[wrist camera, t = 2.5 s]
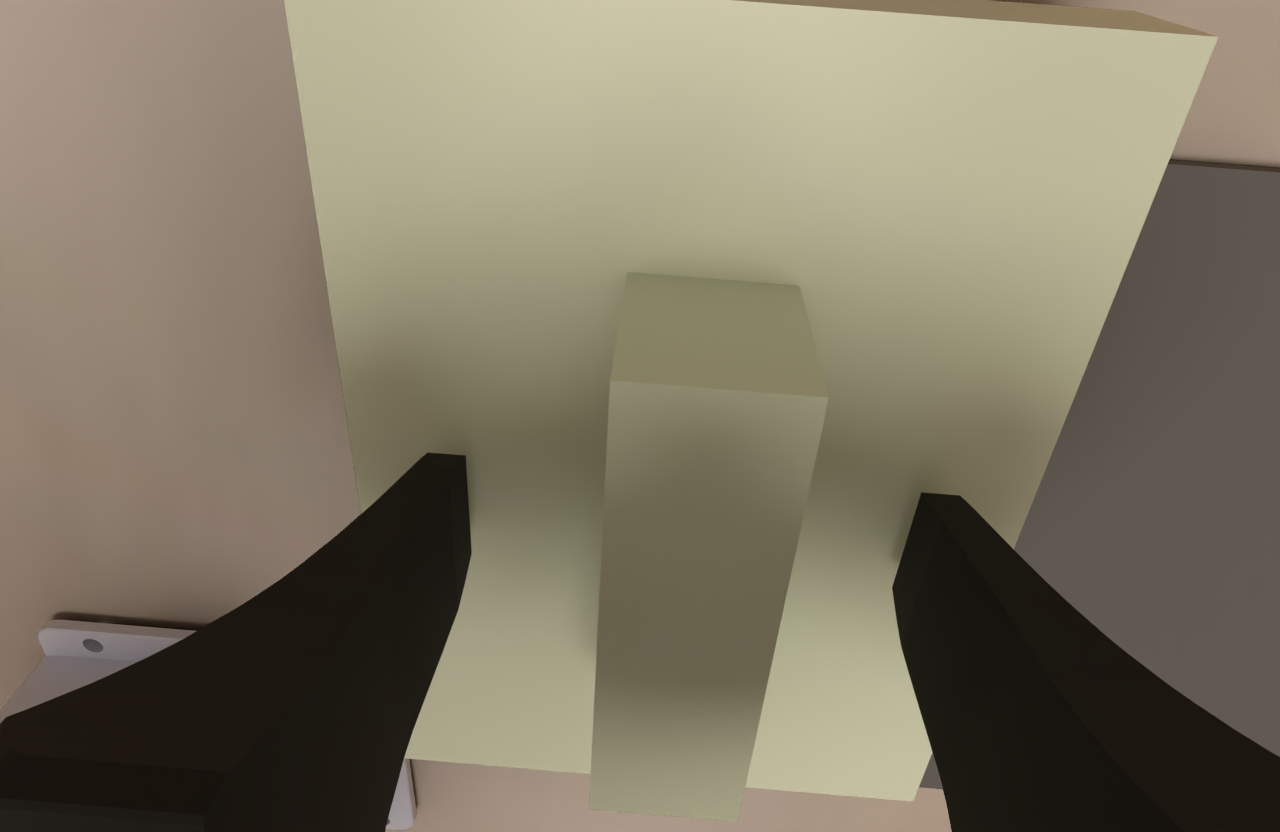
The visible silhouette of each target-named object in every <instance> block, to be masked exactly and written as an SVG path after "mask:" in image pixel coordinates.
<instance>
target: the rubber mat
mask: <svg viewBox="0 0 1280 832" xmlns="http://www.w3.org/2000/svg"><path fill="white" fill-rule="evenodd" d="M1014 550H1015V551H1016V552H1017V553H1018V554H1019V555H1020V556H1021V557H1022V558H1023V559H1024V560H1025V561H1026V562H1027V563H1028V564H1029V565H1030V566H1031V567H1032V568H1033V569H1034V570H1035V571H1036V572H1037V573H1038V574H1039V575H1040V576H1041V577H1042V578H1043V579H1044V580H1045V581H1046V582H1047V583H1048V584H1049V585H1050V586H1051V587H1052V588H1053V589H1054V590H1056V591H1057V592H1058V593H1059V594H1060V595H1061V596H1062V597H1063V598H1064V599H1065V600H1066V601H1067V602H1068V603H1070V604H1071V605H1072V606H1073V607H1074V608H1075V609H1076V610H1077V611H1078V612H1080V613H1081V614H1082V615H1083V616H1084V617H1085V618H1086V619H1088V620H1089V621H1090V622H1091V623H1092V624H1093V625H1094V626H1096V627H1097V628H1098V629H1099V630H1100V631H1101V632H1102V633H1103V634H1105V635H1106V636H1107V637H1108V638H1109V639H1111V640H1112V641H1113V642H1114V643H1116V644H1117V645H1118V646H1119V647H1120V648H1122V649H1123V650H1124V651H1125V652H1127V653H1128V654H1129V655H1131V656H1132V657H1133V658H1134V659H1136V660H1137V661H1138V662H1140V663H1141V664H1142V665H1144V666H1145V667H1146V668H1147V669H1149V670H1150V671H1151V672H1153V673H1154V674H1155V675H1157V676H1158V677H1159V678H1161V679H1162V680H1163V681H1164V682H1166V683H1167V684H1169V685H1170V686H1171V687H1173V688H1174V689H1176V690H1177V691H1178V692H1180V693H1181V694H1183V695H1184V696H1185V697H1187V698H1188V699H1190V700H1191V701H1193V702H1194V703H1196V704H1197V705H1199V706H1200V707H1202V708H1203V709H1205V710H1206V711H1208V712H1209V713H1211V714H1212V715H1214V716H1215V717H1217V718H1218V719H1220V720H1221V721H1223V722H1224V723H1226V724H1227V725H1229V726H1230V727H1232V728H1233V729H1235V730H1236V731H1238V732H1239V733H1241V734H1243V735H1244V736H1246V737H1248V738H1249V739H1251V740H1252V741H1254V742H1256V743H1257V744H1259V745H1261V746H1262V747H1264V748H1265V749H1267V750H1269V751H1270V752H1272V753H1274V754H1275V755H1277V756H1279V757H1280V168H1270V167H1257V166H1244V165H1231V164H1218V163H1205V162H1192V161H1178V160H1169V162H1168V164H1167V167H1166V169H1165V172H1164V174H1163V177H1162V179H1161V182H1160V184H1159V187H1158V189H1157V192H1156V194H1155V197H1154V199H1153V202H1152V204H1151V207H1150V209H1149V212H1148V214H1147V217H1146V219H1145V222H1144V224H1143V227H1142V229H1141V232H1140V234H1139V237H1138V239H1137V242H1136V244H1135V247H1134V249H1133V252H1132V254H1131V257H1130V259H1129V262H1128V264H1127V267H1126V269H1125V272H1124V274H1123V277H1122V279H1121V282H1120V284H1119V287H1118V289H1117V292H1116V294H1115V297H1114V299H1113V302H1112V304H1111V307H1110V309H1109V312H1108V315H1107V317H1106V320H1105V322H1104V325H1103V327H1102V330H1101V332H1100V335H1099V337H1098V340H1097V342H1096V345H1095V347H1094V350H1093V352H1092V355H1091V357H1090V360H1089V362H1088V365H1087V367H1086V370H1085V372H1084V375H1083V377H1082V380H1081V382H1080V385H1079V387H1078V390H1077V392H1076V395H1075V397H1074V400H1073V402H1072V405H1071V407H1070V410H1069V412H1068V415H1067V417H1066V420H1065V422H1064V425H1063V427H1062V430H1061V432H1060V435H1059V437H1058V440H1057V442H1056V445H1055V447H1054V450H1053V452H1052V455H1051V457H1050V460H1049V462H1048V465H1047V467H1046V470H1045V472H1044V475H1043V477H1042V480H1041V482H1040V485H1039V487H1038V490H1037V492H1036V495H1035V497H1034V500H1033V502H1032V505H1031V507H1030V510H1029V512H1028V515H1027V517H1026V520H1025V522H1024V525H1023V527H1022V530H1021V532H1020V535H1019V537H1018V540H1017V542H1016V545H1015V547H1014ZM919 787H924V788H936V789H943V787H942V783H941V779H940V776H939V772H938V769H937V765H936V762H935V759H934V755H933V753H932V755H931V758H930V760H929V763H928V765H927V768H926V770H925V773H924V775H923V778H922V780H921V783H920V785H919Z"/></svg>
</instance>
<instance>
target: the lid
mask: <svg viewBox="0 0 1280 832" xmlns="http://www.w3.org/2000/svg"><path fill="white" fill-rule="evenodd" d="M284 3H285V10H286V16H287V23H288V30H289V36H290V43H291V50H292V56H293V63H294V70H295V76H296V83H297V90H298V96H299V103H300V110H301V116H302V123H303V130H304V136H305V143H306V150H307V156H308V163H309V170H310V176H311V183H312V190H313V196H314V203H315V210H316V216H317V223H318V230H319V236H320V243H321V250H322V256H323V263H324V270H325V276H326V283H327V290H328V296H329V303H330V309H331V316H332V323H333V329H334V336H335V343H336V349H337V356H338V363H339V369H340V376H341V383H342V389H343V396H344V403H345V409H346V416H347V423H348V429H349V436H350V443H351V449H352V456H353V463H354V469H355V476H356V483H357V489H358V496H359V503H360V509H361V514H362V513H363V512H364V511H365V510H366V509H367V508H368V507H370V506H371V505H372V504H373V503H374V502H375V501H376V500H377V499H378V498H379V497H380V496H381V495H382V494H384V493H385V492H386V491H387V490H388V489H389V488H390V487H391V486H392V485H393V484H394V483H395V482H396V481H397V480H398V479H399V478H400V477H401V476H402V475H403V474H405V473H406V472H407V471H408V470H409V469H410V468H411V467H412V466H413V465H414V464H415V463H416V462H417V461H418V460H419V459H420V458H421V457H423V456H424V455H425V454H426V453H428V452H429V453H441V454H453V455H466V468H467V484H468V501H469V517H470V533H471V550H472V554H471V559H470V563H469V567H468V572H467V576H466V581H465V585H464V589H463V593H462V597H461V601H460V605H459V609H458V612H457V615H456V618H455V620H454V623H453V626H452V628H451V631H450V634H449V636H448V639H447V642H446V645H445V647H444V650H443V653H442V655H441V658H440V661H439V663H438V666H437V668H436V671H435V674H434V676H433V679H432V682H431V684H430V687H429V690H428V692H427V695H426V698H425V700H424V703H423V705H422V708H421V711H420V713H419V716H418V719H417V721H416V724H415V727H414V729H413V732H412V735H411V738H410V741H409V744H408V747H407V750H406V754H405V757H404V758H406V759H418V760H430V761H441V762H453V763H465V764H477V765H489V766H501V767H512V768H524V769H536V770H548V771H560V772H572V773H583V774H591V775H590V795H589V809H592V810H604V811H616V812H627V813H639V814H651V815H663V816H674V817H686V818H698V819H710V820H722V821H733V822H738V819H739V814H740V809H741V805H742V800H743V795H744V791H745V787H749V788H761V789H773V790H785V791H797V792H808V793H820V794H832V795H844V796H856V797H868V798H879V799H891V800H903V801H913V800H914V798H915V795H916V793H917V790H918V788H919V785H920V783H921V780H922V778H923V775H924V773H925V770H926V768H927V765H928V763H929V760H930V758H931V755H932V753H933V752H932V749H931V745H930V742H929V739H928V736H927V732H926V729H925V726H924V722H923V719H922V716H921V712H920V709H919V706H918V702H917V699H916V696H915V693H914V689H913V686H912V682H911V679H910V676H909V672H908V669H907V665H906V662H905V658H904V655H903V651H902V648H901V643H900V637H899V631H898V625H897V620H896V612H895V605H894V598H893V591H892V586H893V583H894V580H895V576H896V573H897V570H898V567H899V563H900V560H901V557H902V554H903V550H904V547H905V544H906V540H907V537H908V534H909V531H910V527H911V524H912V521H913V518H914V514H915V511H916V508H917V505H918V501H919V498H920V495H921V492H923V493H936V494H948V495H960V496H961V497H962V498H963V499H964V500H966V501H967V502H968V503H969V504H970V505H971V506H972V507H973V508H974V509H975V510H976V511H977V512H978V513H979V514H980V515H981V516H982V517H983V518H984V519H985V520H986V521H987V522H988V524H989V525H990V526H991V527H992V528H993V529H994V530H995V531H996V532H997V533H998V534H999V535H1000V536H1001V537H1002V538H1003V539H1004V540H1005V541H1006V542H1007V543H1008V544H1009V545H1010V546H1011V547H1012V548H1013V549H1014V547H1015V545H1016V542H1017V540H1018V537H1019V535H1020V532H1021V530H1022V527H1023V525H1024V522H1025V520H1026V517H1027V515H1028V512H1029V510H1030V507H1031V505H1032V502H1033V500H1034V497H1035V495H1036V492H1037V490H1038V487H1039V485H1040V482H1041V480H1042V477H1043V475H1044V472H1045V470H1046V467H1047V465H1048V462H1049V460H1050V457H1051V455H1052V452H1053V450H1054V447H1055V445H1056V442H1057V440H1058V437H1059V435H1060V432H1061V430H1062V427H1063V425H1064V422H1065V420H1066V417H1067V415H1068V412H1069V410H1070V407H1071V405H1072V402H1073V400H1074V397H1075V395H1076V392H1077V390H1078V387H1079V385H1080V382H1081V380H1082V377H1083V375H1084V372H1085V370H1086V367H1087V365H1088V362H1089V360H1090V357H1091V355H1092V352H1093V350H1094V347H1095V345H1096V342H1097V340H1098V337H1099V335H1100V332H1101V330H1102V327H1103V325H1104V322H1105V320H1106V317H1107V315H1108V312H1109V309H1110V307H1111V304H1112V302H1113V299H1114V297H1115V294H1116V292H1117V289H1118V287H1119V284H1120V282H1121V279H1122V277H1123V274H1124V272H1125V269H1126V267H1127V264H1128V262H1129V259H1130V257H1131V254H1132V252H1133V249H1134V247H1135V244H1136V242H1137V239H1138V237H1139V234H1140V232H1141V229H1142V227H1143V224H1144V222H1145V219H1146V217H1147V214H1148V212H1149V209H1150V207H1151V204H1152V202H1153V199H1154V197H1155V194H1156V192H1157V189H1158V187H1159V184H1160V182H1161V179H1162V177H1163V174H1164V172H1165V169H1166V167H1167V164H1168V162H1169V159H1170V157H1171V154H1172V152H1173V149H1174V147H1175V144H1176V142H1177V139H1178V137H1179V134H1180V132H1181V129H1182V127H1183V124H1184V122H1185V119H1186V117H1187V114H1188V112H1189V109H1190V107H1191V104H1192V102H1193V99H1194V97H1195V94H1196V92H1197V89H1198V87H1199V84H1200V82H1201V79H1202V77H1203V74H1204V72H1205V69H1206V67H1207V64H1208V62H1209V59H1210V57H1211V54H1212V52H1213V49H1214V47H1215V44H1216V42H1217V39H1218V37H1217V36H1214V35H1211V34H1207V33H1204V32H1201V31H1198V30H1194V29H1191V28H1188V27H1185V26H1181V25H1178V24H1175V23H1172V22H1168V21H1165V20H1162V19H1159V18H1155V17H1152V16H1149V15H1146V14H1142V13H1139V12H1136V11H1125V10H1112V9H1099V8H1085V7H1072V6H1059V5H1045V4H1032V3H1019V2H1005V1H992V0H284Z"/></svg>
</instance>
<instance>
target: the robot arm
mask: <svg viewBox="0 0 1280 832" xmlns="http://www.w3.org/2000/svg"><path fill="white" fill-rule="evenodd" d="M471 554H472V550H471V533H470V517H469V501H468V484H467V468H466V455H453V454H441V453H429V452H428V453H426V454H425V455H424V456H423V457H421V458H420V459H419V460H418V461H417V462H416V463H415V464H414V465H413V466H412V467H411V468H410V469H409V470H408V471H407V472H406V473H405V474H403V475H402V476H401V477H400V478H399V479H398V480H397V481H396V482H395V483H394V484H393V485H392V486H391V487H390V488H389V489H388V490H387V491H386V492H385V493H384V494H382V495H381V496H380V497H379V498H378V499H377V500H376V501H375V502H374V503H373V504H372V505H371V506H370V507H368V508H367V509H366V510H365V511H364V512H363V513H362V514H361V515H359V516H358V517H357V518H356V519H355V520H354V521H353V522H352V523H350V524H349V525H348V526H347V527H346V528H345V529H344V530H343V531H341V532H340V533H339V534H338V535H337V536H335V537H334V538H333V539H332V540H330V541H329V542H328V543H327V544H326V545H324V546H323V547H322V548H321V549H319V550H318V551H317V552H316V553H314V554H313V555H312V556H311V557H309V558H308V559H307V560H306V561H304V562H303V563H302V564H301V565H299V566H298V567H297V568H295V569H294V570H293V571H291V572H290V573H289V574H287V575H286V576H284V577H283V578H282V579H280V580H279V581H277V582H276V583H275V584H273V585H272V586H270V587H269V588H267V589H266V590H264V591H263V592H261V593H260V594H258V595H257V596H255V597H254V598H252V599H250V600H249V601H247V602H246V603H244V604H243V605H241V606H239V607H238V608H236V609H234V610H233V611H231V612H229V613H227V614H226V615H224V616H222V617H220V618H219V619H217V620H215V621H214V622H212V623H210V624H208V625H207V626H205V627H203V628H201V629H200V630H198V631H192V630H180V629H168V628H156V627H144V626H132V625H120V624H108V623H96V622H84V621H72V620H51V621H49V622H47V623H46V624H45V625H44V626H43V627H42V629H41V630H40V631H39V633H38V640H39V642H40V644H41V646H42V649H43V651H44V653H45V655H46V656H45V657H44V658H43V660H42V661H41V662H40V663H39V665H38V666H37V667H36V668H35V669H34V671H33V672H32V673H31V674H30V675H29V677H28V678H27V679H26V680H25V681H24V683H23V684H22V685H21V686H20V687H19V689H18V690H17V691H16V692H15V694H14V695H13V696H12V697H11V698H10V700H9V701H8V702H7V703H6V704H5V706H4V707H3V708H2V709H1V710H0V832H385V829H391V830H406V829H409V828H411V827H412V826H413V824H414V821H415V818H416V813H417V812H416V805H415V797H414V790H413V783H412V776H411V768H410V761H409V759H406V758H404V757H405V754H406V750H407V747H408V744H409V741H410V738H411V735H412V732H413V729H414V727H415V724H416V721H417V719H418V716H419V713H420V711H421V708H422V705H423V703H424V700H425V698H426V695H427V692H428V690H429V687H430V684H431V682H432V679H433V676H434V674H435V671H436V668H437V666H438V663H439V661H440V658H441V655H442V653H443V650H444V647H445V645H446V642H447V639H448V636H449V634H450V631H451V628H452V626H453V623H454V620H455V618H456V615H457V612H458V609H459V605H460V601H461V597H462V593H463V589H464V585H465V581H466V576H467V572H468V567H469V563H470V559H471ZM892 591H893V598H894V605H895V612H896V620H897V625H898V631H899V637H900V643H901V648H902V651H903V655H904V658H905V662H906V665H907V669H908V672H909V676H910V679H911V682H912V686H913V689H914V693H915V696H916V699H917V702H918V706H919V709H920V712H921V716H922V719H923V722H924V726H925V729H926V732H927V736H928V739H929V742H930V745H931V749H932V752H933V755H934V759H935V762H936V765H937V769H938V772H939V776H940V779H941V783H942V787H943V791H944V795H945V799H946V803H947V808H948V814H949V819H950V824H951V829H952V832H1280V757H1279V756H1277V755H1275V754H1274V753H1272V752H1270V751H1269V750H1267V749H1265V748H1264V747H1262V746H1261V745H1259V744H1257V743H1256V742H1254V741H1252V740H1251V739H1249V738H1248V737H1246V736H1244V735H1243V734H1241V733H1239V732H1238V731H1236V730H1235V729H1233V728H1232V727H1230V726H1229V725H1227V724H1226V723H1224V722H1223V721H1221V720H1220V719H1218V718H1217V717H1215V716H1214V715H1212V714H1211V713H1209V712H1208V711H1206V710H1205V709H1203V708H1202V707H1200V706H1199V705H1197V704H1196V703H1194V702H1193V701H1191V700H1190V699H1188V698H1187V697H1185V696H1184V695H1183V694H1181V693H1180V692H1178V691H1177V690H1176V689H1174V688H1173V687H1171V686H1170V685H1169V684H1167V683H1166V682H1164V681H1163V680H1162V679H1161V678H1159V677H1158V676H1157V675H1155V674H1154V673H1153V672H1151V671H1150V670H1149V669H1147V668H1146V667H1145V666H1144V665H1142V664H1141V663H1140V662H1138V661H1137V660H1136V659H1134V658H1133V657H1132V656H1131V655H1129V654H1128V653H1127V652H1125V651H1124V650H1123V649H1122V648H1120V647H1119V646H1118V645H1117V644H1116V643H1114V642H1113V641H1112V640H1111V639H1109V638H1108V637H1107V636H1106V635H1105V634H1103V633H1102V632H1101V631H1100V630H1099V629H1098V628H1097V627H1096V626H1094V625H1093V624H1092V623H1091V622H1090V621H1089V620H1088V619H1086V618H1085V617H1084V616H1083V615H1082V614H1081V613H1080V612H1078V611H1077V610H1076V609H1075V608H1074V607H1073V606H1072V605H1071V604H1070V603H1068V602H1067V601H1066V600H1065V599H1064V598H1063V597H1062V596H1061V595H1060V594H1059V593H1058V592H1057V591H1056V590H1054V589H1053V588H1052V587H1051V586H1050V585H1049V584H1048V583H1047V582H1046V581H1045V580H1044V579H1043V578H1042V577H1041V576H1040V575H1039V574H1038V573H1037V572H1036V571H1035V570H1034V569H1033V568H1032V567H1031V566H1030V565H1029V564H1028V563H1027V562H1026V561H1025V560H1024V559H1023V558H1022V557H1021V556H1020V555H1019V554H1018V553H1017V552H1016V551H1015V550H1014V549H1013V548H1012V547H1011V546H1010V545H1009V544H1008V543H1007V542H1006V541H1005V540H1004V539H1003V538H1002V537H1001V536H1000V535H999V534H998V533H997V532H996V531H995V530H994V529H993V528H992V527H991V526H990V525H989V524H988V522H987V521H986V520H985V519H984V518H983V517H982V516H981V515H980V514H979V513H978V512H977V511H976V510H975V509H974V508H973V507H972V506H971V505H970V504H969V503H968V502H967V501H966V500H964V499H963V498H962V497H961V496H960V495H948V494H936V493H923V492H921V495H920V498H919V501H918V505H917V508H916V511H915V514H914V518H913V521H912V524H911V527H910V531H909V534H908V537H907V540H906V544H905V547H904V550H903V554H902V557H901V560H900V563H899V567H898V570H897V573H896V576H895V580H894V583H893V586H892Z"/></svg>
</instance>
